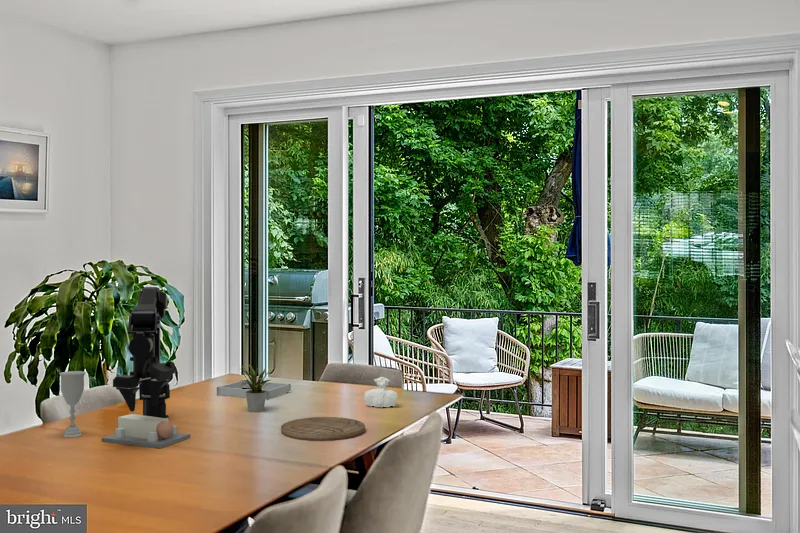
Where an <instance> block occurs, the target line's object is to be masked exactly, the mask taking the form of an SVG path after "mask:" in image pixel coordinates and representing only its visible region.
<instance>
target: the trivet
mask: <svg viewBox="0 0 800 533" xmlns="http://www.w3.org/2000/svg"><path fill="white" fill-rule="evenodd" d="M280 426H281V427H280V433H281V435H283V436H284V437H287V438H290V439H293V440H299V441H307V442H330V441H332V442H333V441H342V440H348V439H354V438H356V436H357V437H360V436H361V435H363V434H364V433H365V432H364V431H366V425H365V423H364V422H362V421H360V420H357V419H354V418H348V417H347V418H346V417H337V416H336V417H335V416H314V417H304V418H303V417H302V418H298V419H297V418H296V419H292V420H289V421H287V422H284V423H283V424H281V425H280ZM362 433H363V434H362ZM359 435H360V436H359Z"/></svg>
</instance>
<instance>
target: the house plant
mask: <svg viewBox="0 0 800 533" xmlns="http://www.w3.org/2000/svg"><path fill="white" fill-rule="evenodd" d="M259 364H260V363H258V364H257V368H256V369H255V370H254V369H253V365H251V364H249V368H250V371H248V369H247V368H245V367H244V366H243V365H239V367H242V368H243V369H242V368H240V370H241V371H240V373H241V374H242V375H243V376H244V378H245V379H244V380H243V381H245V382H247V383H243V382H242V384H241V386H242V385H244V384H248V385H249V386H250V388H251V390H250V389H249V390H250V391H246V404H247V410H248V411H249V412H254V413H255V412H262V411H264V410H265V404H266V400H267V399H266V393H267V390H266V391H265V390H262V387H263V386H264V384H265V383H266V382H270V383H271V379H266V380H264V379H265V378H266V376H267V375H268V374H269V373H270V372H271V371H273V369H276V367H277V366H276V367H273V368H271V369H270V370H269V371H267V370H266V367H265V368H264V369H263V370H262V372H260V374H259V375H258V369H259V367H260V365H259ZM266 371H267V373H266V374H265V372H266ZM243 372H244V373H243ZM245 374H246V375H245ZM247 377H248V378H247ZM238 381H239V382H240V381H241V380H238ZM250 381H251V382H252V384H251V383H250ZM260 382H261V383H260ZM270 383H268V384H270ZM268 384H267V385H268ZM263 389H264V388H263Z"/></svg>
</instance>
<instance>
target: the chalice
mask: <svg viewBox="0 0 800 533" xmlns="http://www.w3.org/2000/svg"><path fill="white" fill-rule="evenodd" d="M86 373H87V372H86V371H82V370H75V371H74V370H71V371H70V370H69V371H64V372H62V371H61V372H59V373H58V374H59V376H60V391H61V393H62V394H61V395H62V397H63V398H64V401H65V403H66V404H67V405H68V406H69V407H70V411H69V414H70V417H69V418H68V419H69V421H70V424H69V426H68V427H66V428H65V430H64V433H63V434H62V437H63V438H77V437H80V436H82V432H81V430H80V427H78V426H76V424H75V420H76V417H75V414H76V411H75V406H76V405H79V404H78V403H79V402H80V399H81V398H82V396H83V393H84V390H85V375H86Z"/></svg>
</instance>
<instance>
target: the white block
mask: <svg viewBox="0 0 800 533" xmlns="http://www.w3.org/2000/svg"><path fill="white" fill-rule="evenodd" d="M173 425H174V424H173V423H172V422H171V421H169V418H167V417H164V418H159V417H151V416H143V414H137V413H136V414H135V413H129V414H125V415H121V416H118V418H117V428H125V436H130V437H137V438H143V439H147V438H148V432H150V431H153V432H157V440H158V439H161V438H169V437H170V436H171V435H172V432H173Z"/></svg>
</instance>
